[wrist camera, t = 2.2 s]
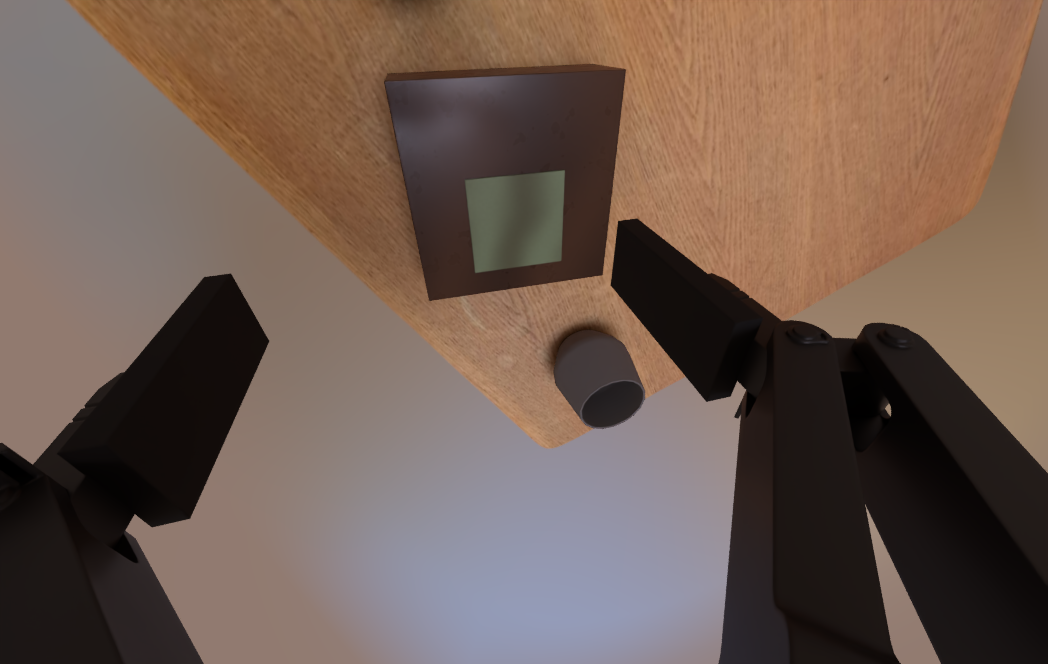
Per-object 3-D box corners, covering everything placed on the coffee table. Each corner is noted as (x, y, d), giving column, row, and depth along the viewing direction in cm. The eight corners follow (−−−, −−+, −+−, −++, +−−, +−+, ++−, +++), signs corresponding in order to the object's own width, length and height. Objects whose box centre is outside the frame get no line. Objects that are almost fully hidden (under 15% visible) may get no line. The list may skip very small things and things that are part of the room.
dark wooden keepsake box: (426, 268, 38) (429, 302, 33) (387, 73, 28) (383, 81, 24) (580, 248, 41) (603, 276, 36) (593, 64, 31) (627, 69, 26)
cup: (607, 305, 47) (648, 359, 39) (620, 357, 53) (658, 412, 45) (535, 338, 47) (561, 397, 39) (556, 385, 53) (582, 445, 45)
